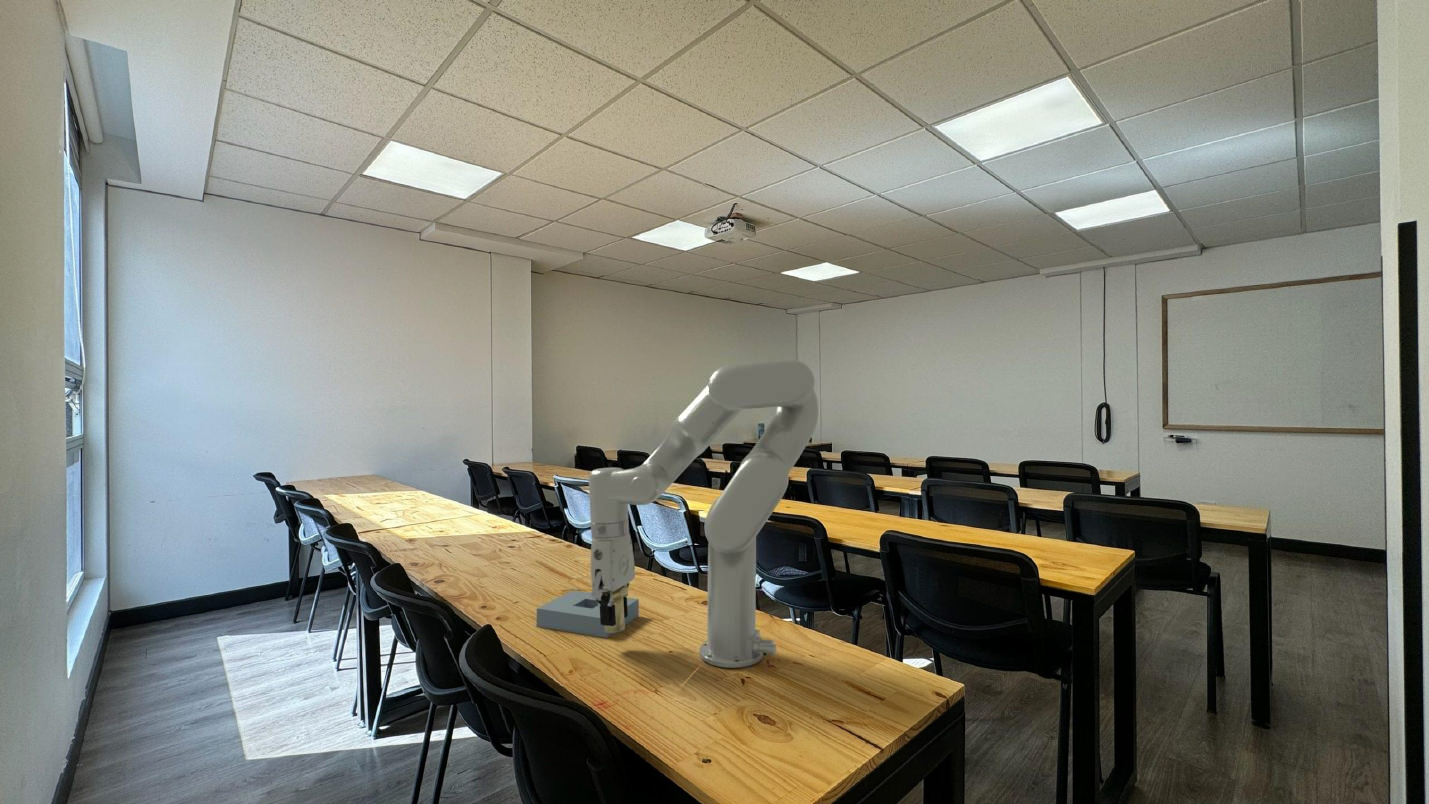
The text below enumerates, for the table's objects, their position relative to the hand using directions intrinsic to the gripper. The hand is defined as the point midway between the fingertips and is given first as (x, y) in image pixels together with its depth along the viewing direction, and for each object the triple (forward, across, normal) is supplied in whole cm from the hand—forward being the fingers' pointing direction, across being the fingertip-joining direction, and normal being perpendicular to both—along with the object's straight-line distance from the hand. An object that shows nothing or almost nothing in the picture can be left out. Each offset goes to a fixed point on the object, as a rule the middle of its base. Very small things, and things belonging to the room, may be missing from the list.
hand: (614, 619), depth 115 cm
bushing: (+2, 0, 0) cm, 2 cm away
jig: (+5, +12, +14) cm, 19 cm away
